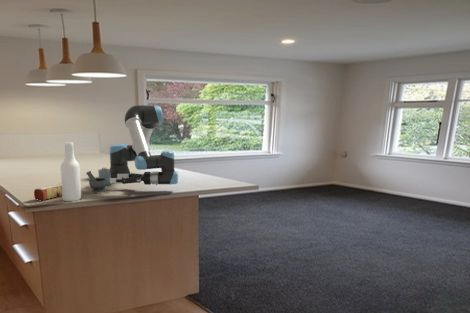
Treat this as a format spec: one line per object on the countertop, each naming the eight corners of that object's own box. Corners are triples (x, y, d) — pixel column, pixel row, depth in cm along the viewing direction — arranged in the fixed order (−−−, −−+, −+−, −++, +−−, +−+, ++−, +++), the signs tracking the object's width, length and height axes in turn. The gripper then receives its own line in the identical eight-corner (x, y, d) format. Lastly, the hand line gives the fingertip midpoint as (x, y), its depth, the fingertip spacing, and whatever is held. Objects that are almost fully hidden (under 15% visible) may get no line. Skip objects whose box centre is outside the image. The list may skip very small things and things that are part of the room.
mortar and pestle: (109, 189, 199) (108, 169, 197) (105, 193, 190) (104, 172, 188) (89, 189, 198) (88, 169, 196) (84, 193, 188) (83, 172, 187)
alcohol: (83, 197, 180) (80, 141, 176) (78, 201, 171) (75, 143, 168) (65, 197, 178) (62, 141, 175) (60, 202, 170) (56, 143, 166)
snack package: (67, 192, 192) (66, 180, 191) (76, 193, 190) (75, 181, 189) (33, 200, 172) (32, 188, 172) (43, 202, 170) (42, 189, 169)
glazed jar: (97, 185, 210) (96, 167, 209) (108, 183, 215) (107, 166, 213) (101, 187, 205) (101, 169, 204) (112, 185, 210) (112, 168, 208)
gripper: (147, 189, 183) (107, 189, 181) (155, 180, 207) (120, 180, 206) (146, 175, 182) (106, 175, 180) (154, 168, 206) (119, 168, 205)
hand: (113, 178), depth 193 cm, fingers open, 13 cm apart
